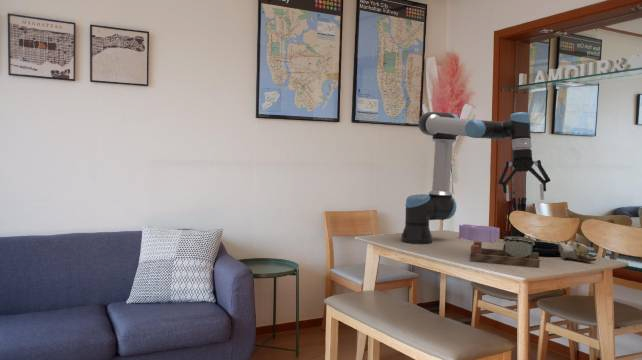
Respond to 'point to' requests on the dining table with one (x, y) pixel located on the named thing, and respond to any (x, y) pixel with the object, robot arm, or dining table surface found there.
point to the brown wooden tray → (500, 256)
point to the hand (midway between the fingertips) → (524, 200)
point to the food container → (518, 247)
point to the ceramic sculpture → (575, 251)
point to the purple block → (479, 233)
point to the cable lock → (545, 249)
